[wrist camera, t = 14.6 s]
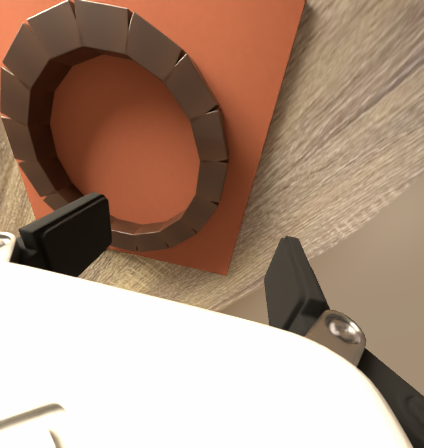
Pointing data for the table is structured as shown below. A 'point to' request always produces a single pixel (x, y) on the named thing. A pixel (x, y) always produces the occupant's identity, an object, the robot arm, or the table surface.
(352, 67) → the table surface
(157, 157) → the mat
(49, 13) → the hoop
